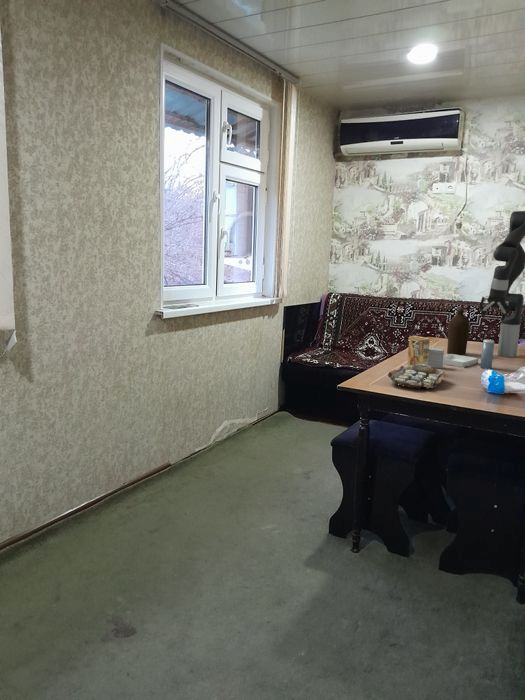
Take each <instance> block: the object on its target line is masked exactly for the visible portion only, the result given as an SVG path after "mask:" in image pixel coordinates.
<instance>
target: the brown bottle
mask: <svg viewBox="0 0 525 700" xmlns="http://www.w3.org/2000/svg"><path fill="white" fill-rule="evenodd" d="M464 309H465V308H464V307H460V306H459V307H457V310H456V315H454V316H453V317H452V318H451V319H450V320H449V322H448V326H447V327H448V328H447V331H448V332H447V347H446V351H447V355H449V354H455V355H461V356H466V353H467V347H468V339H469V333H470V328H471V327H470V325H471V324H470V321H469V320H468V319H467V318H466V316H465V315H464V313H465V310H464Z"/></svg>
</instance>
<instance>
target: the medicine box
mask: <svg viewBox="0 0 525 700" xmlns="http://www.w3.org/2000/svg"><path fill="white" fill-rule="evenodd" d="M444 354H445V349H443V348H434V347H429V355H428V365H431V366H433V367H435V368H436V369H443V365H444V364H443V357H444V356H445V355H444Z"/></svg>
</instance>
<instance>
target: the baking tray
mask: <svg viewBox="0 0 525 700" xmlns="http://www.w3.org/2000/svg"><path fill="white" fill-rule="evenodd" d="M446 373H447V371H446V370H444V371H439V370H438V368H435V367H433V366H431V365H425V364H411V365H409V366H407V365H401V366H400V367H399V368H398V369H393V370H391V371H388V373H387V376H388V378H389V379H390V380H391V382H392V383H393V384H394V385H395V384H396V385H398V384H399V385H404V386H403V387H405V386H410V387H409V388H412V387H416V388H415V389H419V388H424V387H425V388H426V389H428V390H430V389H429V388H431V389H433V388H436V387H437V385H438V384H440V383H441V381H442V380H443V378H444V376H445V374H446ZM426 377H427V379H425V380H423V379H424V378H426ZM409 379H411V380H409ZM406 381H407V382H406ZM420 381H422V382H420Z"/></svg>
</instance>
